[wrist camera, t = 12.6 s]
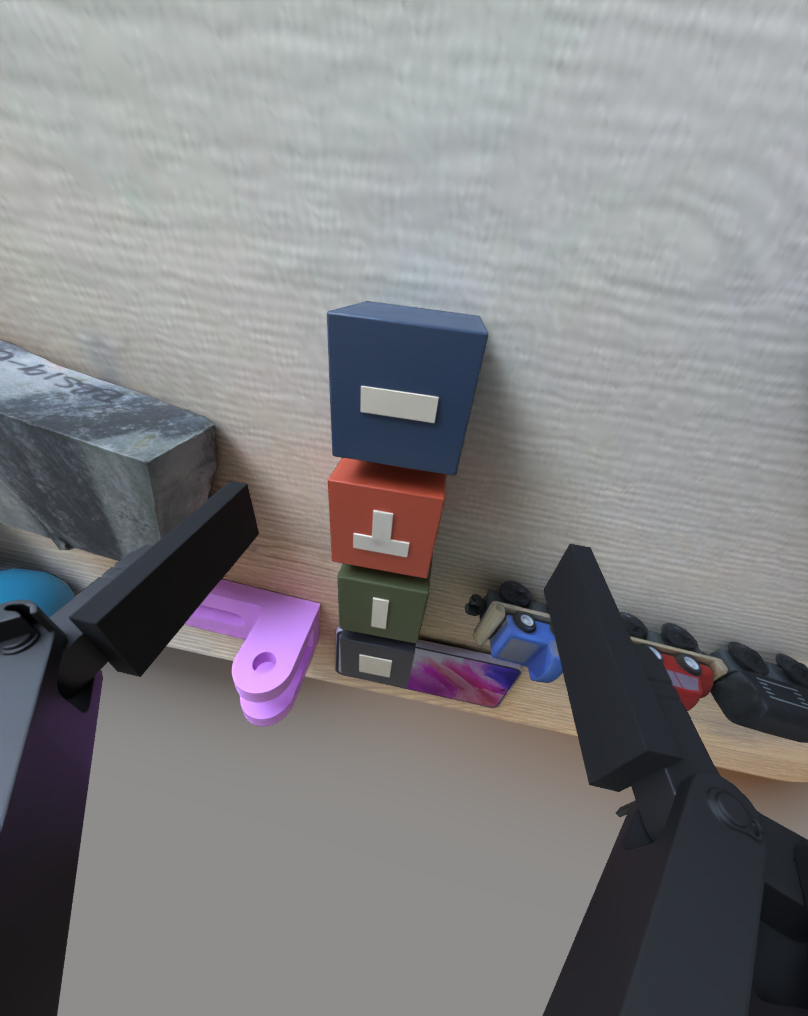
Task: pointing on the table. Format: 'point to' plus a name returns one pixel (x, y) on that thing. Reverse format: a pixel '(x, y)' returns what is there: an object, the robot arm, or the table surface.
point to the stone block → (95, 458)
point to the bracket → (263, 644)
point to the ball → (35, 588)
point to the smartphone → (456, 673)
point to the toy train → (726, 674)
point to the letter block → (384, 516)
